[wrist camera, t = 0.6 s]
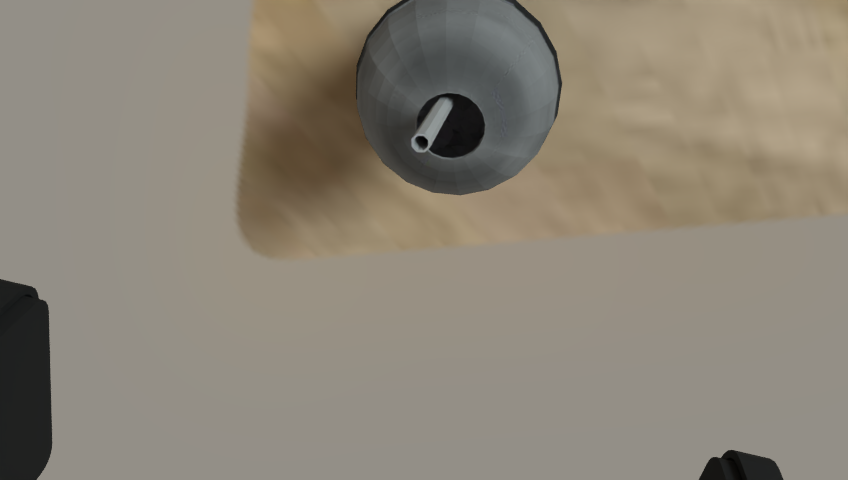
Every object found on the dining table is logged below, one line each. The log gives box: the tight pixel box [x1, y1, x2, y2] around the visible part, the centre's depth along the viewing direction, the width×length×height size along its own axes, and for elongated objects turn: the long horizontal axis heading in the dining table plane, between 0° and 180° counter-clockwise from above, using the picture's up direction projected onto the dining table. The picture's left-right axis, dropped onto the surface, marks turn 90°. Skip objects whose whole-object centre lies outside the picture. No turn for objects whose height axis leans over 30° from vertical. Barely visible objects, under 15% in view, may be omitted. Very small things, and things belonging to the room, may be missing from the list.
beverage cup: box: [356, 0, 562, 195], centre depth 29 cm, size 7×7×20 cm
